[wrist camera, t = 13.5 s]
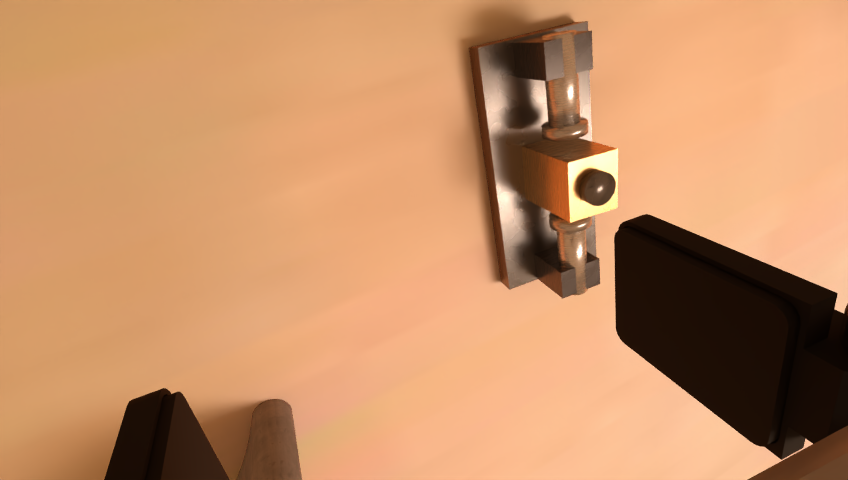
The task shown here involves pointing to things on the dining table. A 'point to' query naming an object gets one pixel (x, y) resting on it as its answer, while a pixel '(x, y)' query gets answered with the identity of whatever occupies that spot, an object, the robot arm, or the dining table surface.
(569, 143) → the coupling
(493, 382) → the dining table surface
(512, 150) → the shaft rig
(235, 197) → the dining table surface
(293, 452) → the hip flask
